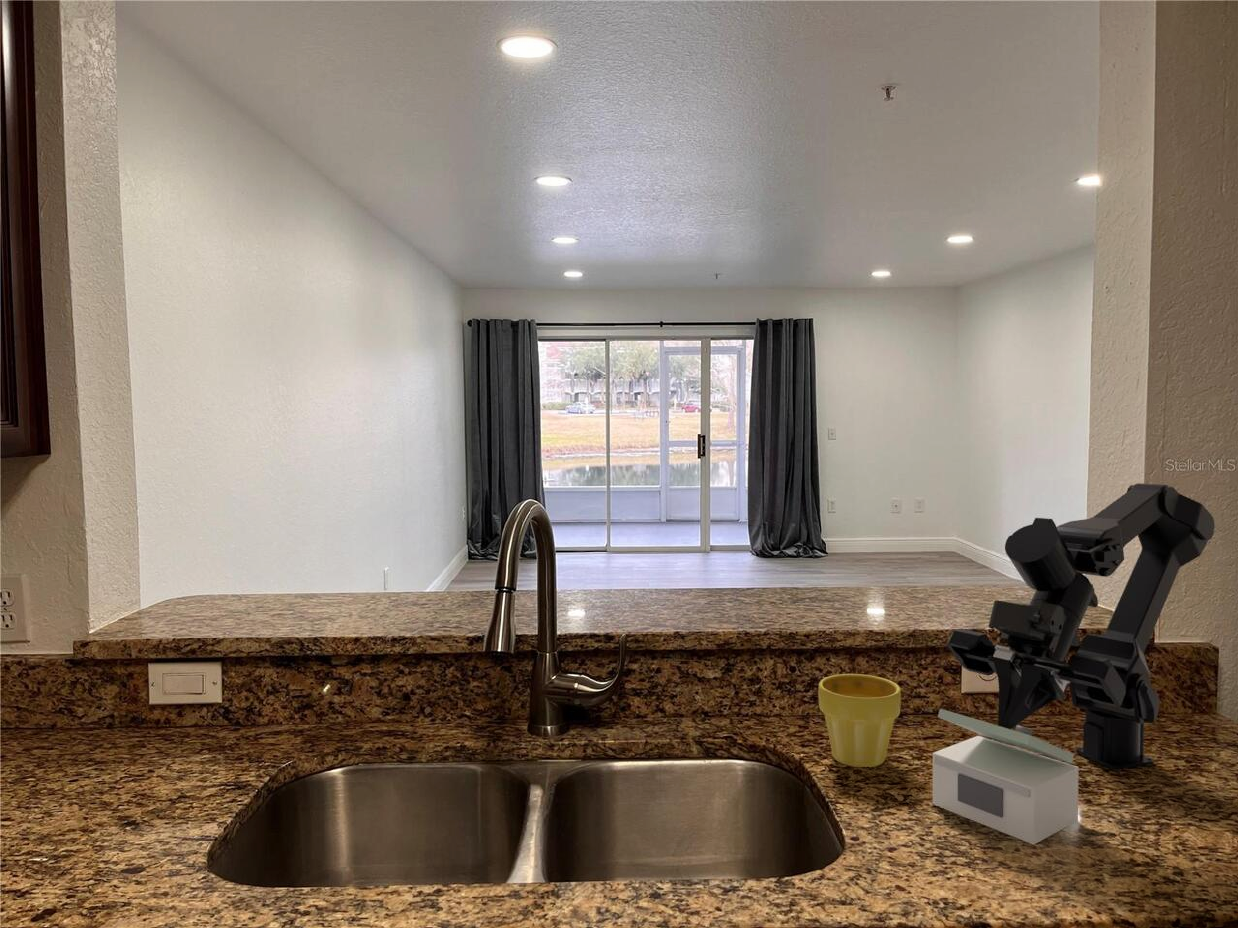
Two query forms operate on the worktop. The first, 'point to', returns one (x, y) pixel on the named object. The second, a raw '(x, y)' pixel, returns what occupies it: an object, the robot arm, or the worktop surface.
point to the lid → (1007, 735)
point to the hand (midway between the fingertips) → (1002, 728)
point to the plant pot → (859, 716)
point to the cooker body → (1006, 788)
